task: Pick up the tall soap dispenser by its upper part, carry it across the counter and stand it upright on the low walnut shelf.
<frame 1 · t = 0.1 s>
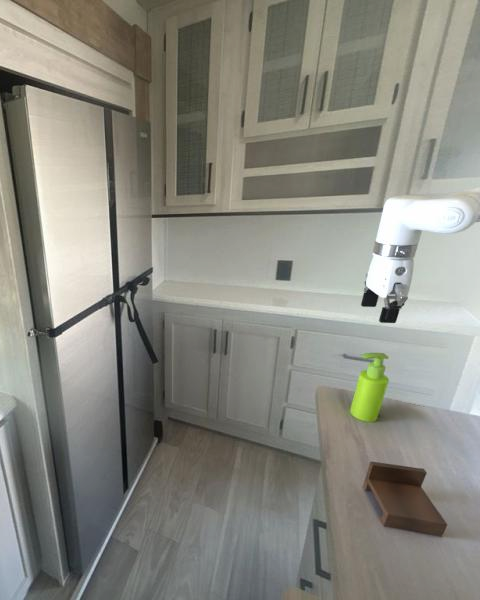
hand: (377, 314, 85), 30 cm above the countertop, tool pointing down, fingers open, 9 cm apart
walnut shelf: (397, 514, 68), on the countertop
soap dispenser: (361, 415, 94), on the countertop
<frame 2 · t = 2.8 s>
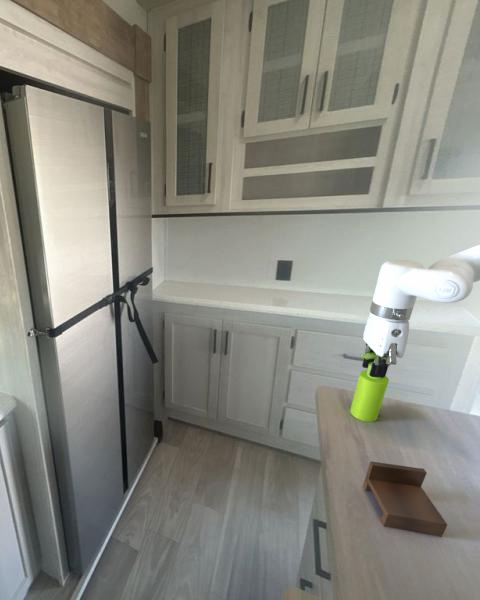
hand: (373, 371, 88), 15 cm above the countertop, tool pointing down, fingers closed on soap dispenser, 3 cm apart
soap dispenser: (360, 415, 94), on the countertop, touching gripper
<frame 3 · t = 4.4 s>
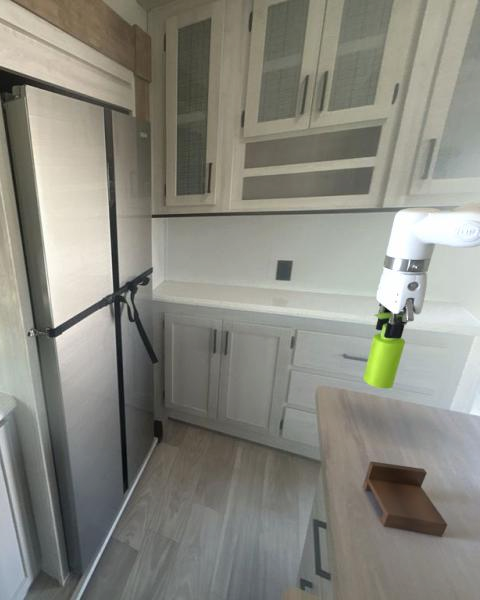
hand: (387, 333, 82), 27 cm above the countertop, tool pointing down, fingers closed on soap dispenser, 3 cm apart
soap dispenser: (375, 382, 88), point 12 cm above the countertop, touching gripper
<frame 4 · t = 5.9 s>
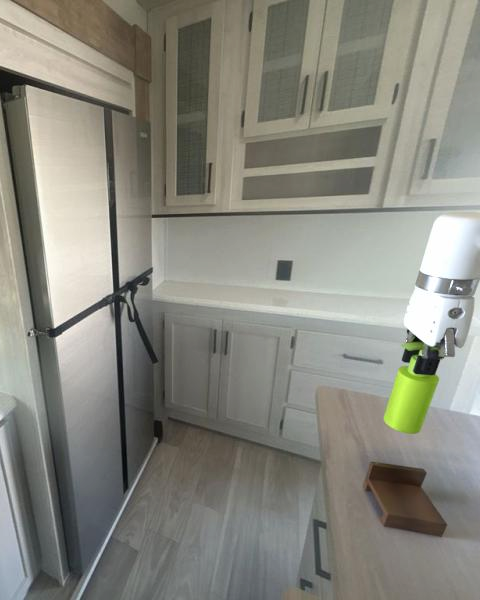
hand: (417, 367, 66), 29 cm above the countertop, tool pointing down, fingers closed on soap dispenser, 3 cm apart
soap dispenser: (398, 424, 72), point 14 cm above the countertop, touching gripper
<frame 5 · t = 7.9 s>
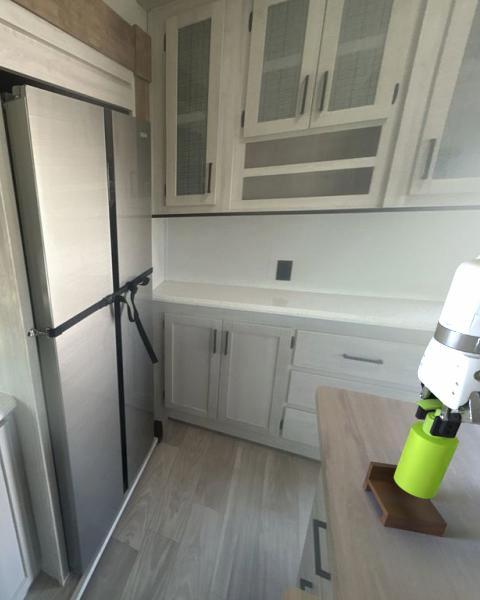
hand: (434, 426, 59), 24 cm above the countertop, tool pointing down, fingers closed on soap dispenser, 3 cm apart
soap dispenser: (410, 485, 64), point 9 cm above the countertop, touching gripper
when the fingers open (20 cm above the countertop, at t = 9.2 s): soap dispenser stays where it is, resting on walnut shelf.
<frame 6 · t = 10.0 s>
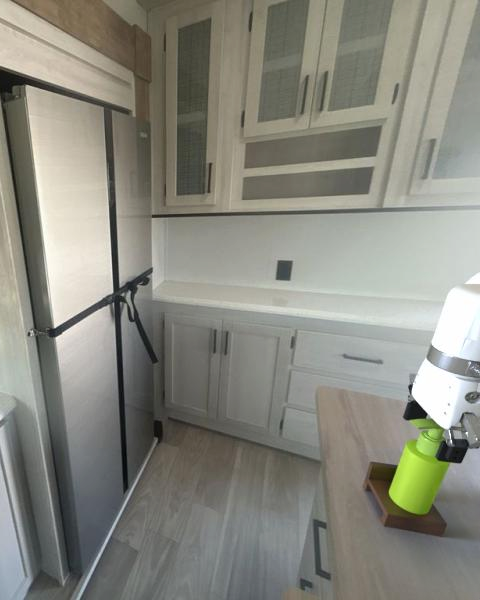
hand: (429, 439, 60), 21 cm above the countertop, tool pointing down, fingers open, 9 cm apart
soap dispenser: (405, 500, 66), point 5 cm above the countertop, touching walnut shelf
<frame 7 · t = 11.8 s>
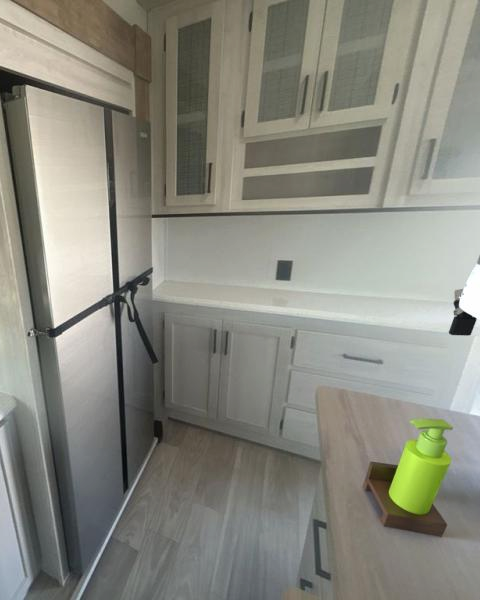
hand: (478, 347, 62), 34 cm above the countertop, tool pointing down, fingers open, 9 cm apart
nothing on the countertop moved.
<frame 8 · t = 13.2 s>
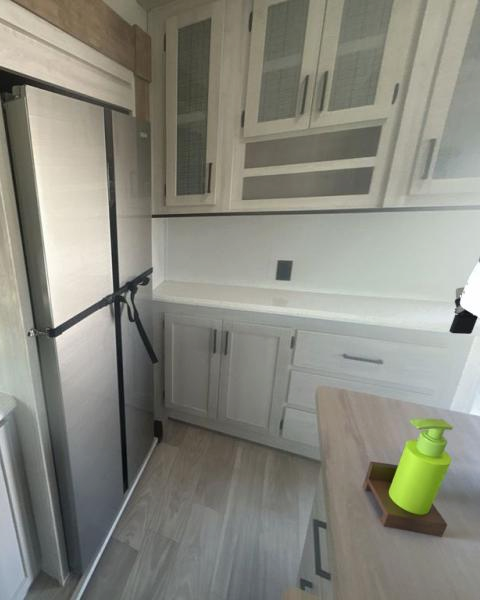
hand: (478, 345, 63), 34 cm above the countertop, tool pointing down, fingers open, 9 cm apart
nothing on the countertop moved.
at the end: soap dispenser inside the target area on the walnut shelf (0.2 cm from its centre), point 4.8 cm above the walnut shelf's base; soap dispenser tilted 0°; the gripper is holding nothing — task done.
